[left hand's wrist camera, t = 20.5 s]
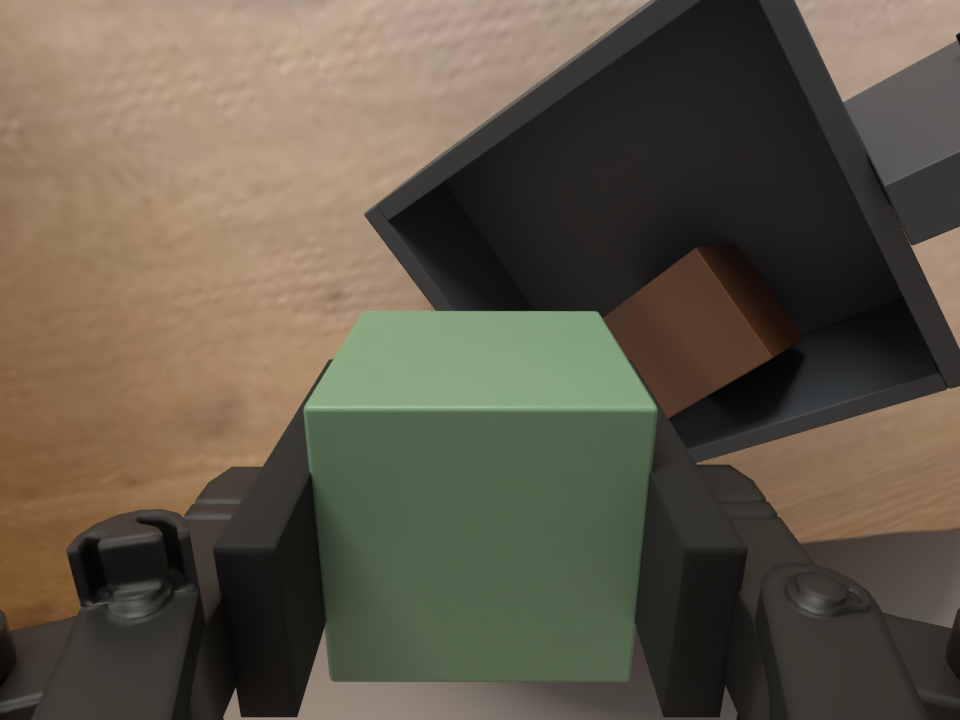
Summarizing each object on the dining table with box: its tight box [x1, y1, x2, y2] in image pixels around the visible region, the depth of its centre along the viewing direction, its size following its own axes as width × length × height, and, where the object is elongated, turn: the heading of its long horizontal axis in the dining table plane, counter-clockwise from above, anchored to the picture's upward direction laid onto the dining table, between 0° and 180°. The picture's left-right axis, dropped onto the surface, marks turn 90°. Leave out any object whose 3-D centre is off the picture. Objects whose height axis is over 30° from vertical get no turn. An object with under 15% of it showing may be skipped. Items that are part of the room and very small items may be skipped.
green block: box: [303, 311, 658, 682], centre depth 12 cm, size 5×5×5 cm
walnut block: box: [602, 244, 804, 419], centre depth 28 cm, size 5×5×5 cm
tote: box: [364, 0, 960, 463], centre depth 24 cm, size 27×17×10 cm, turn 124°
